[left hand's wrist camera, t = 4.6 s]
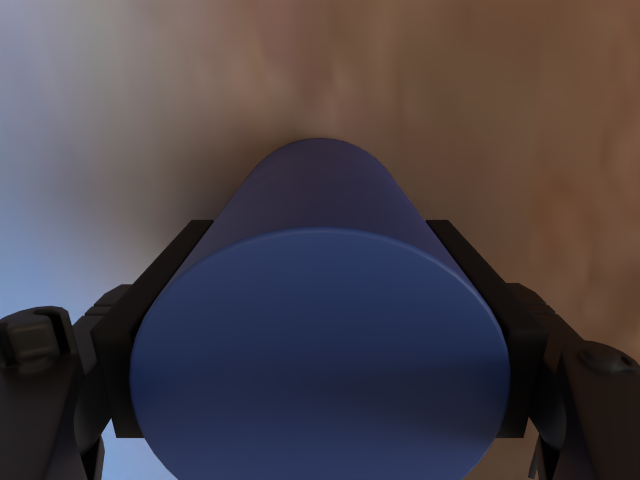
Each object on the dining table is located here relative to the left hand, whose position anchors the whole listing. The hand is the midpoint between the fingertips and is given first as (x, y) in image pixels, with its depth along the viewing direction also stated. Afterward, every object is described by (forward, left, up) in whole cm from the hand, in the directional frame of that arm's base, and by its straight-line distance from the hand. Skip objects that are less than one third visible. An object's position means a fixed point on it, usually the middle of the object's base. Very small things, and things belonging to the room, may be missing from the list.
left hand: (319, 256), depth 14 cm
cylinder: (0, 0, -4) cm, 4 cm away
